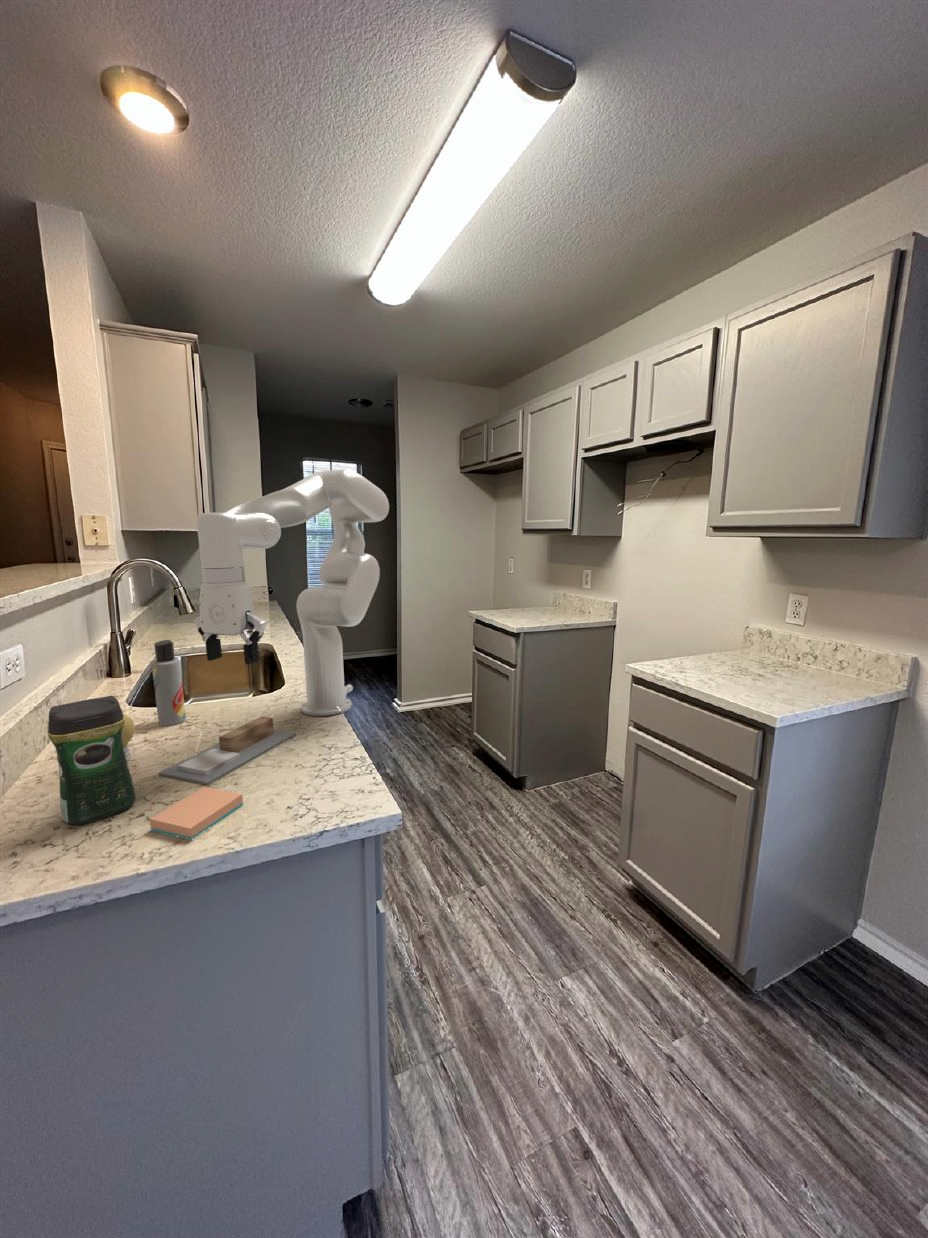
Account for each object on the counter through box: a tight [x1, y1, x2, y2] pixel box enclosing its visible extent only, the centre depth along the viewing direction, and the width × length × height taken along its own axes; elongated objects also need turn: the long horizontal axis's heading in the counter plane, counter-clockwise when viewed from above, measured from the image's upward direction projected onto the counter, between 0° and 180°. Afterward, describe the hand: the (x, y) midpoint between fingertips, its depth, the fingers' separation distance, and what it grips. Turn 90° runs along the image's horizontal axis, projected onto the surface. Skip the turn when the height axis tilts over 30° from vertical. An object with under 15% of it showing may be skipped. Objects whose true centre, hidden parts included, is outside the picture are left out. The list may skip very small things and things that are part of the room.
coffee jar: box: [47, 695, 136, 826], centre depth 77 cm, size 10×8×19 cm
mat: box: [158, 728, 297, 786], centre depth 100 cm, size 24×12×1 cm, turn 160°
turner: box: [178, 716, 275, 775], centre depth 99 cm, size 20×7×4 cm, turn 160°
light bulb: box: [122, 714, 136, 763], centre depth 95 cm, size 6×6×10 cm
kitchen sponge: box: [149, 786, 244, 839], centre depth 76 cm, size 2×8×10 cm
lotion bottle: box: [151, 639, 187, 727], centre depth 116 cm, size 6×6×20 cm
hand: (233, 660), depth 98 cm, fingers open, 9 cm apart
